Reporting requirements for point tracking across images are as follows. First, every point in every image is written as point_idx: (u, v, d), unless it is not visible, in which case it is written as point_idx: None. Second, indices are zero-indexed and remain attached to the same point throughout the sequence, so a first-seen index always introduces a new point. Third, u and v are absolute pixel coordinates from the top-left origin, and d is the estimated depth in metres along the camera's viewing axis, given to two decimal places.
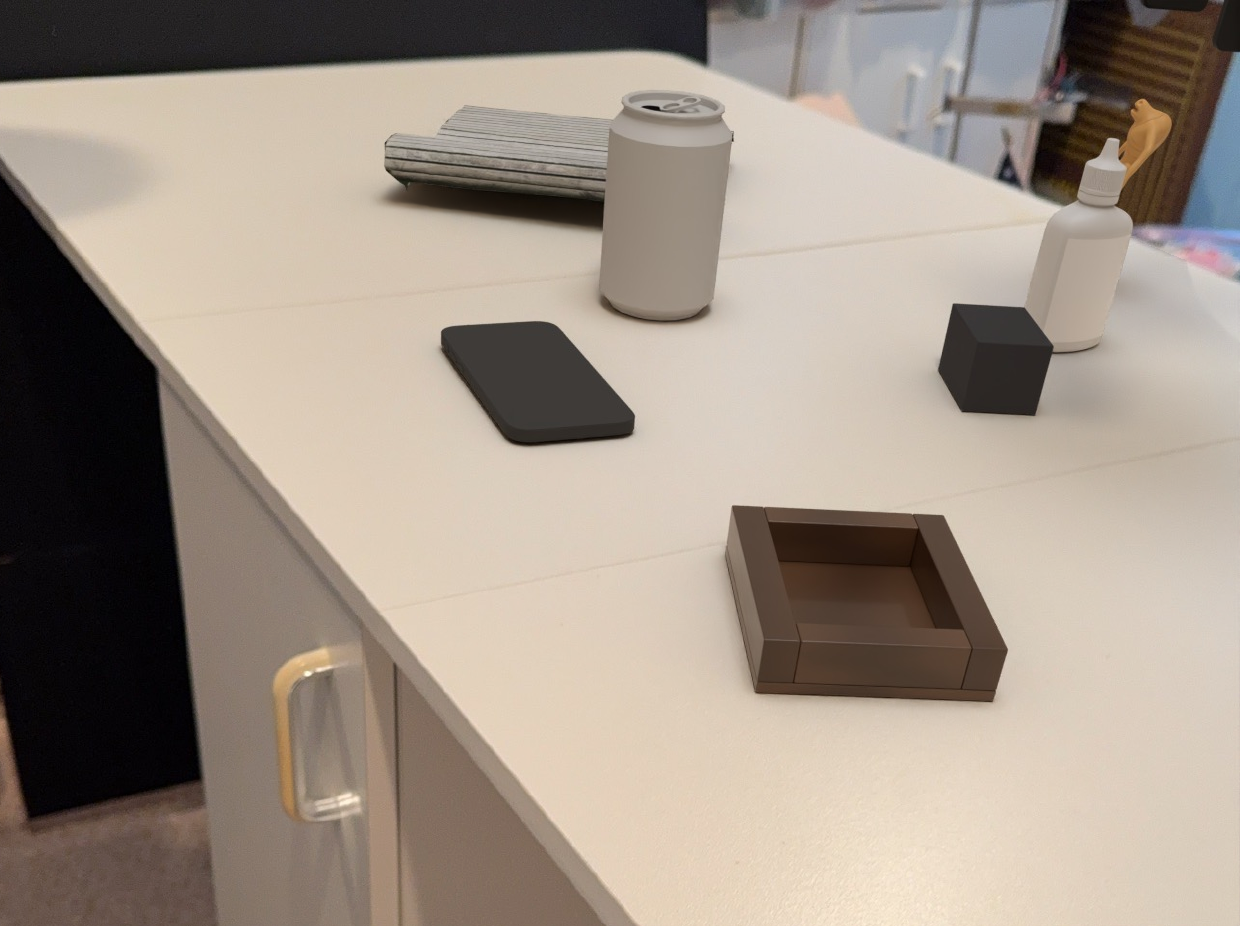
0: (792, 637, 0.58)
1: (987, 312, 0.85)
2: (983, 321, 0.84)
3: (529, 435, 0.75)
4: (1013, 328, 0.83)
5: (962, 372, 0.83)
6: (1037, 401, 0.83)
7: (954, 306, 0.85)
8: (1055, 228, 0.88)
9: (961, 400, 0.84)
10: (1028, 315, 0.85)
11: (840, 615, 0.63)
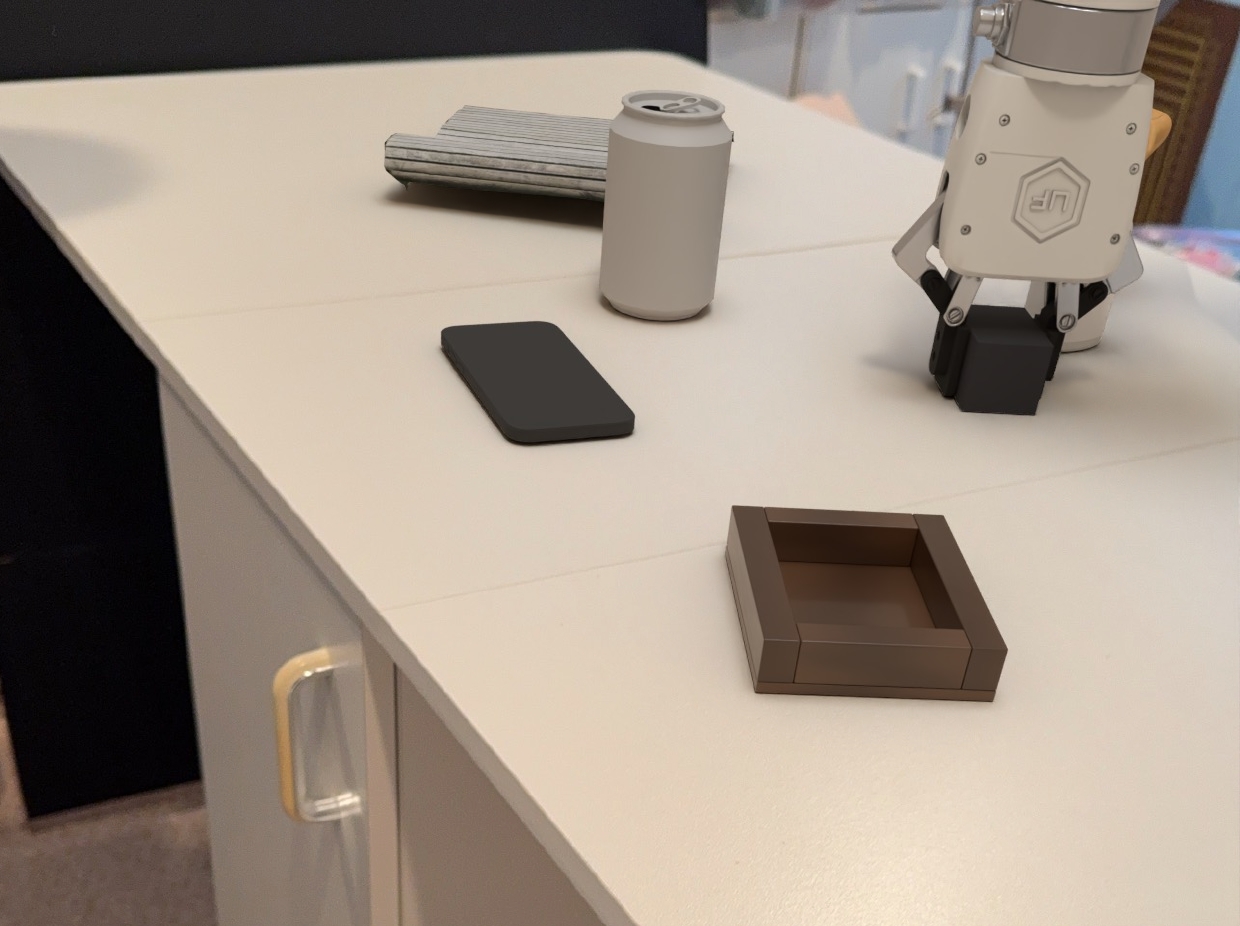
0: (792, 637, 0.58)
1: (987, 312, 0.85)
2: (983, 321, 0.84)
3: (529, 435, 0.75)
4: (1013, 328, 0.83)
5: (962, 372, 0.83)
6: (1037, 401, 0.83)
7: None
8: None
9: (961, 400, 0.84)
10: (1028, 315, 0.85)
11: (840, 615, 0.63)
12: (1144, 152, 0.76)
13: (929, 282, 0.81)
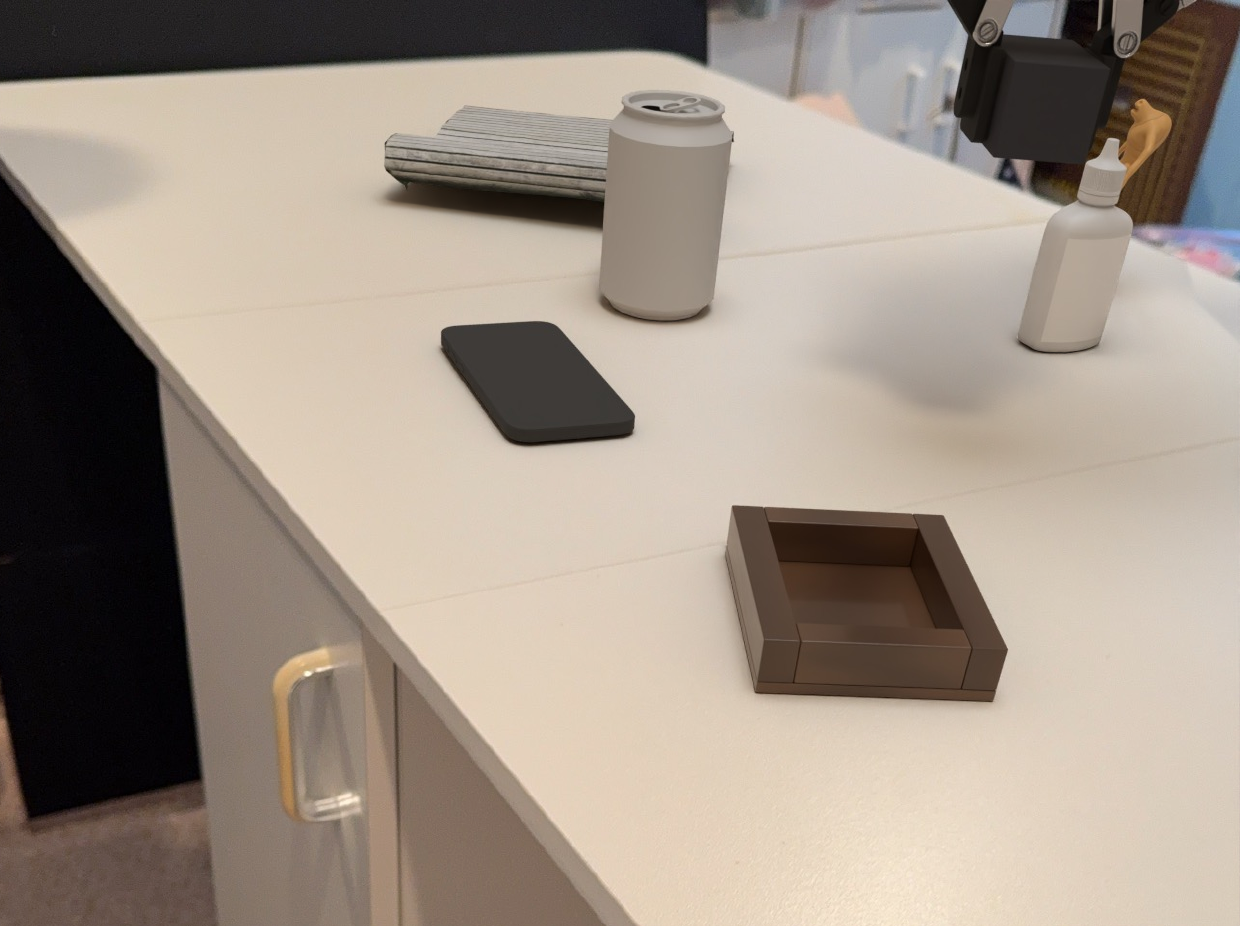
0: (792, 637, 0.58)
1: (1027, 41, 0.69)
2: (1022, 47, 0.68)
3: (529, 435, 0.75)
4: (1059, 53, 0.67)
5: (995, 109, 0.67)
6: (1088, 145, 0.67)
7: None
8: (1055, 228, 0.88)
9: (993, 144, 0.68)
10: (1078, 45, 0.69)
11: (840, 615, 0.63)
12: None
13: None
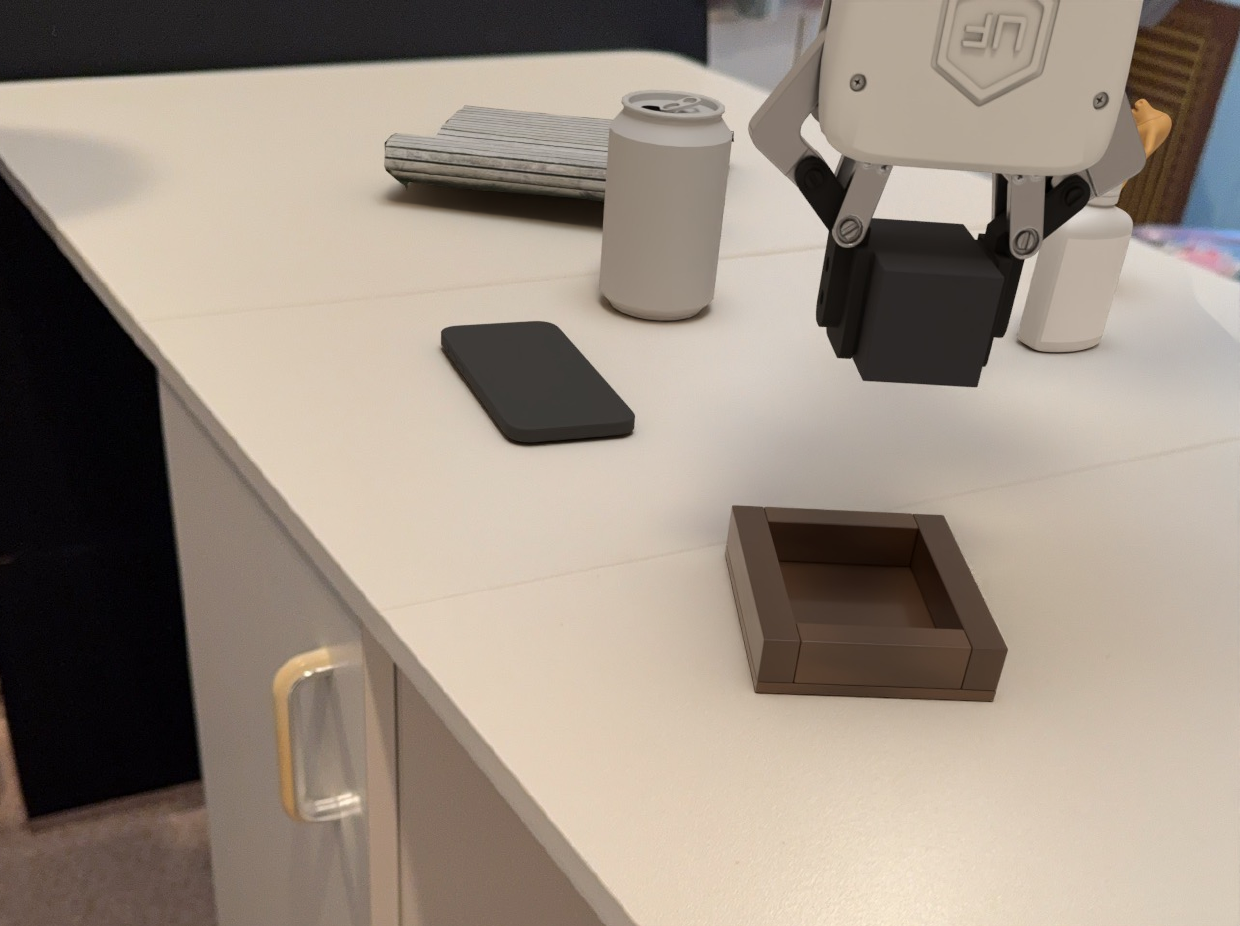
0: (792, 637, 0.58)
1: (905, 229, 0.55)
2: (897, 241, 0.54)
3: (529, 435, 0.75)
4: (942, 252, 0.53)
5: (864, 321, 0.54)
6: (980, 366, 0.53)
7: None
8: None
9: (862, 364, 0.54)
10: (968, 234, 0.55)
11: (840, 615, 0.63)
12: None
13: (808, 175, 0.51)
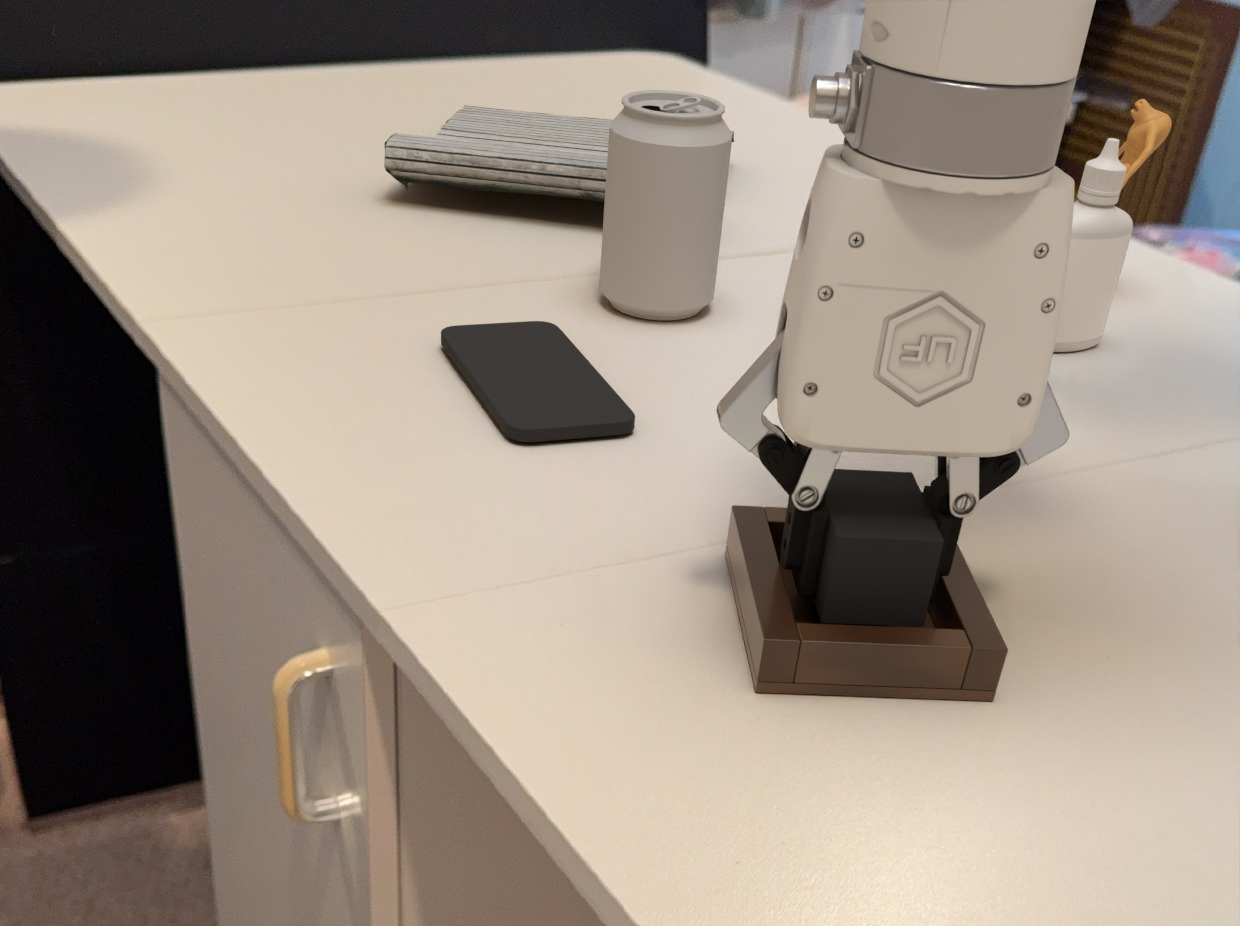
0: (792, 637, 0.58)
1: (859, 482, 0.62)
2: (850, 498, 0.60)
3: (529, 435, 0.75)
4: (890, 510, 0.60)
5: (822, 570, 0.60)
6: (925, 610, 0.60)
7: None
8: None
9: (820, 608, 0.60)
10: (915, 486, 0.62)
11: None
12: (1062, 282, 0.52)
13: (769, 453, 0.58)
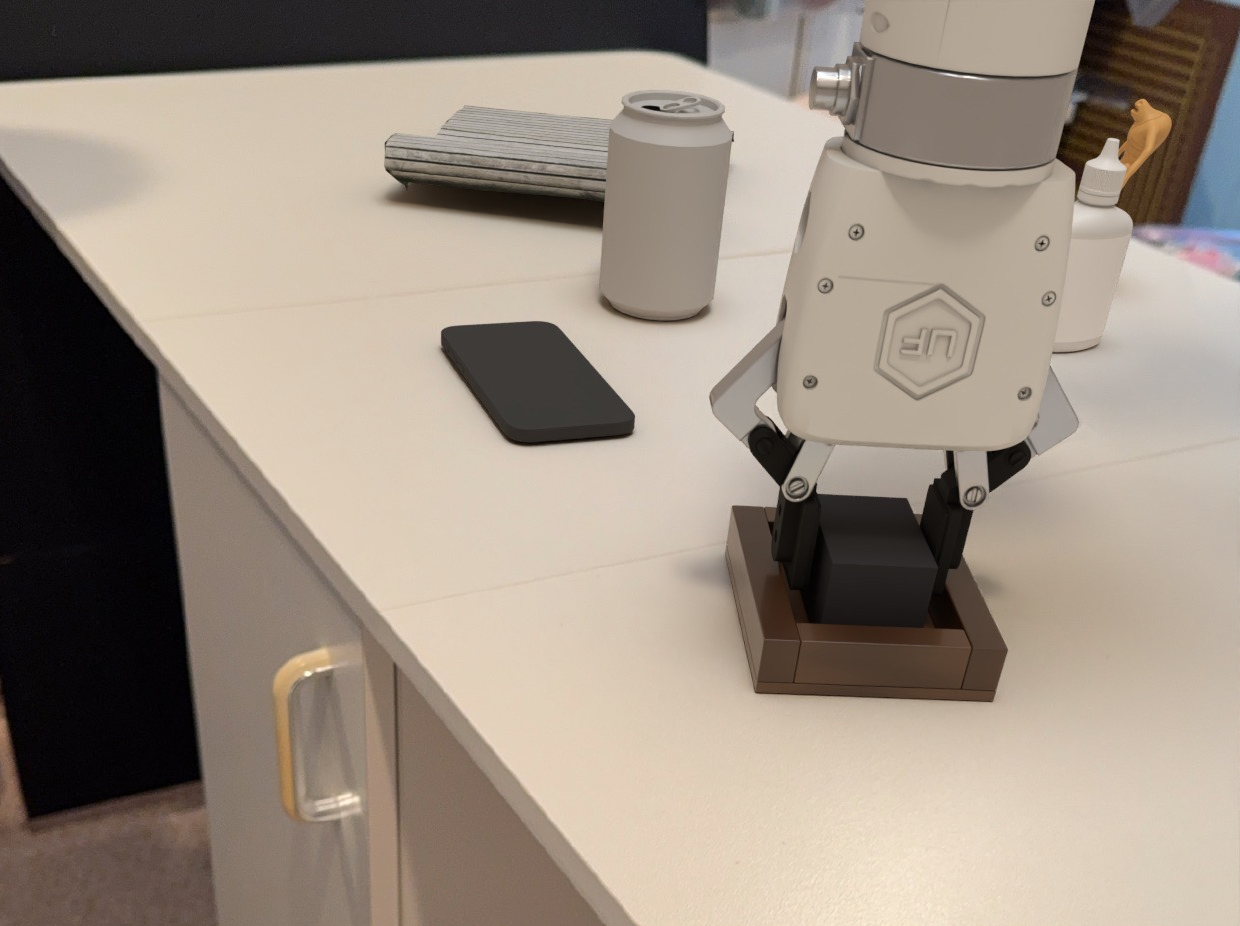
0: (792, 637, 0.58)
1: (854, 508, 0.62)
2: (846, 524, 0.61)
3: (529, 435, 0.75)
4: (885, 536, 0.61)
5: (817, 595, 0.61)
6: None
7: None
8: None
9: None
10: (910, 512, 0.63)
11: None
12: (1062, 275, 0.52)
13: (759, 443, 0.57)
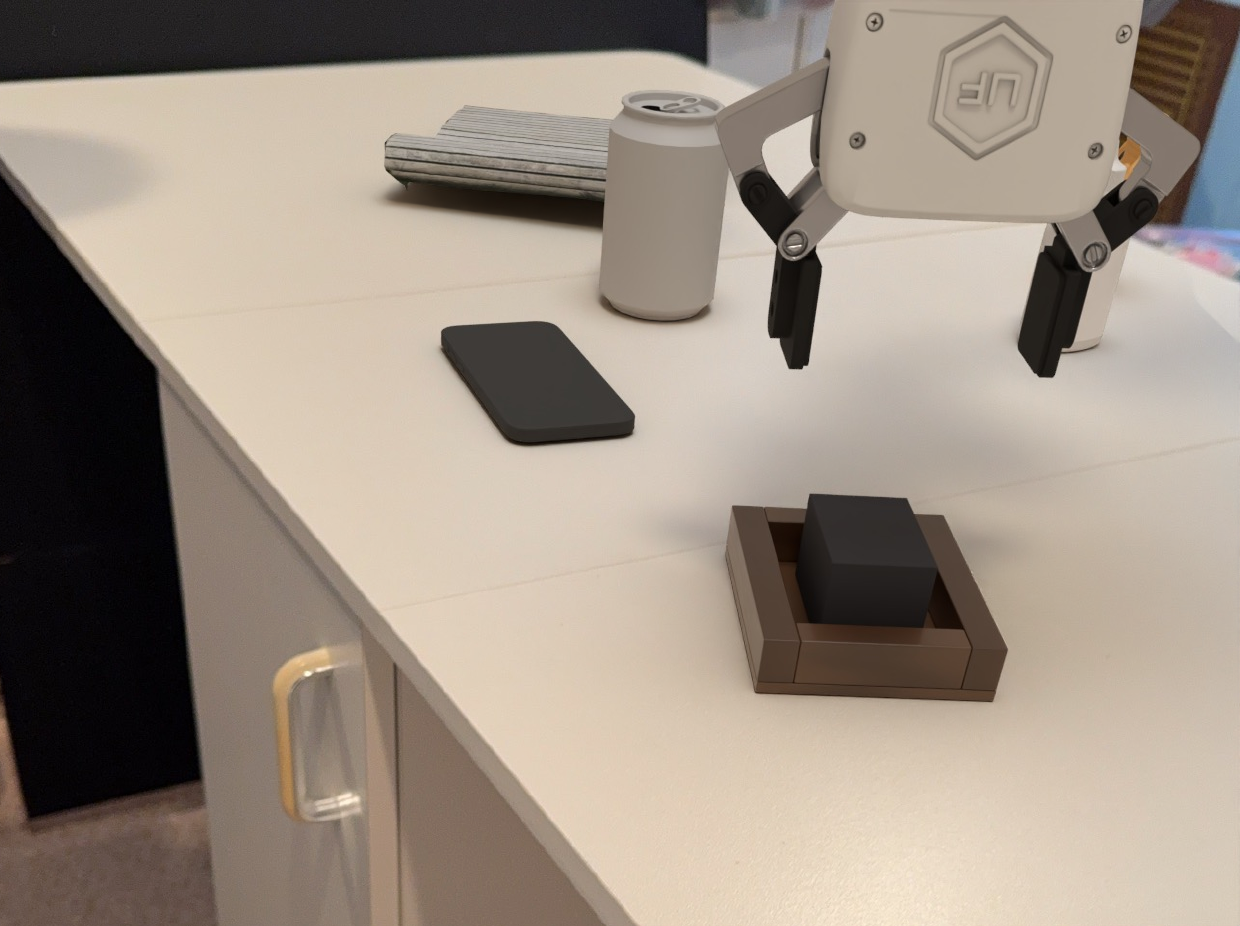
0: (792, 637, 0.58)
1: (854, 508, 0.62)
2: (846, 524, 0.61)
3: (529, 435, 0.75)
4: (885, 536, 0.61)
5: (817, 595, 0.61)
6: None
7: (811, 498, 0.63)
8: None
9: None
10: (910, 512, 0.63)
11: None
12: (1140, 6, 0.47)
13: (751, 190, 0.51)
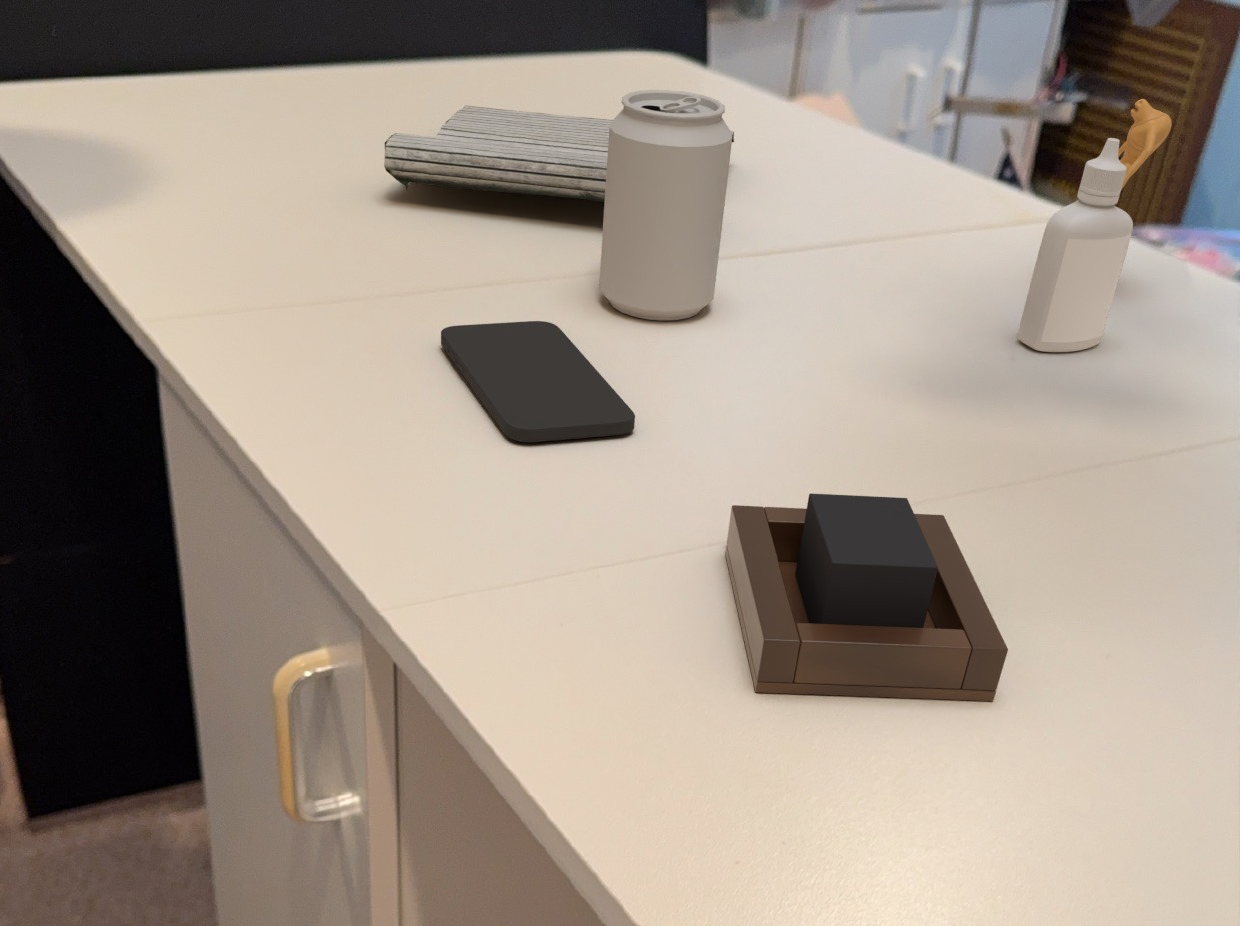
0: (792, 637, 0.58)
1: (854, 508, 0.62)
2: (846, 524, 0.61)
3: (529, 435, 0.75)
4: (885, 536, 0.61)
5: (817, 595, 0.61)
6: None
7: (811, 498, 0.63)
8: (1055, 228, 0.88)
9: None
10: (910, 512, 0.63)
11: None
12: None
13: None
